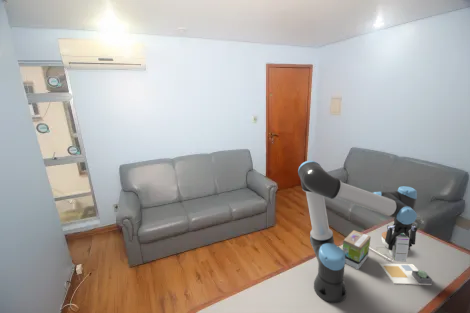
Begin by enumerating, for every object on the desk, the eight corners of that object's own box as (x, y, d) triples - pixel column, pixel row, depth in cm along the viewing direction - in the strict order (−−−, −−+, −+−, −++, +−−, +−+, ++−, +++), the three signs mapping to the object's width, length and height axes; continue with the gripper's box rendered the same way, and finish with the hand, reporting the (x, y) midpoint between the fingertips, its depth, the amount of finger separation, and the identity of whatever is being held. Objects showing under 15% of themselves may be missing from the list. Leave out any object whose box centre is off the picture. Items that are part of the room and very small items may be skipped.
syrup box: (406, 262, 115) (410, 237, 112) (393, 261, 116) (397, 237, 113) (400, 254, 121) (404, 231, 117) (388, 253, 122) (392, 230, 118)
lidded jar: (405, 252, 136) (407, 238, 134) (387, 252, 136) (389, 239, 134) (393, 241, 146) (395, 228, 144) (376, 242, 147) (378, 229, 144)
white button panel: (394, 284, 114) (395, 278, 113) (379, 264, 127) (380, 259, 126) (431, 285, 112) (432, 279, 111) (412, 265, 126) (413, 260, 125)
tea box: (358, 270, 124) (361, 247, 120) (340, 261, 131) (342, 239, 128) (368, 257, 133) (371, 235, 130) (351, 249, 141) (353, 229, 137)
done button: (420, 280, 113) (421, 275, 113) (415, 274, 117) (416, 270, 116) (428, 280, 113) (428, 275, 112) (422, 274, 116) (423, 270, 116)
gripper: (388, 220, 110) (383, 259, 116) (429, 220, 108) (422, 260, 114) (379, 212, 117) (375, 250, 123) (418, 212, 115) (412, 250, 121)
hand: (398, 254), depth 118 cm, fingers closed on syrup box, 6 cm apart
